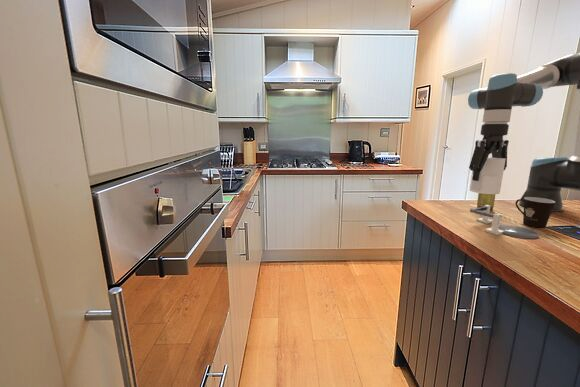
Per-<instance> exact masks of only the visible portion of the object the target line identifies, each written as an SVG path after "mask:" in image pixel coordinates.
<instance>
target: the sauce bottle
mask: <svg viewBox="0 0 580 387" xmlns="http://www.w3.org/2000/svg"><path fill="white" fill-rule="evenodd" d="M477 194H478V195H477V202H476V208H479V207H484V205H490V206H491V207H490V212H492V211H493V210H494V207H495V200H496V194H482V193H477ZM482 212H483V210H482Z"/></svg>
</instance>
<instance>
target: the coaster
mask: <svg viewBox="0 0 580 387" xmlns="http://www.w3.org/2000/svg"><path fill="white" fill-rule="evenodd" d="M499 230H502V231H504V232H503V233H502V234H501V235H505V236H509V237H513V238H518V239H519V238H520V239H527V240H530V239H531V240H532V239H533V240H535V239H538V238H539V237H540V234H539V233H538V232H537V231H535V230H532V229H530V228H527V227H526V228H525V227H522V226H516V225H512V224H511V225H509V224H507V225H506V224H499Z"/></svg>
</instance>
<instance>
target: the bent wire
mask: <svg viewBox="0 0 580 387" xmlns="http://www.w3.org/2000/svg"><path fill="white" fill-rule="evenodd" d="M482 210H487V207H479V208H477V207H474V208H470V209H469V212H470V213H472V214H473V213H474V214H477V215H481V216H482V215H484V216H487V217H489V218H492V219H493V216H494V214H495V213H486V212H483V211H482Z"/></svg>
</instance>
